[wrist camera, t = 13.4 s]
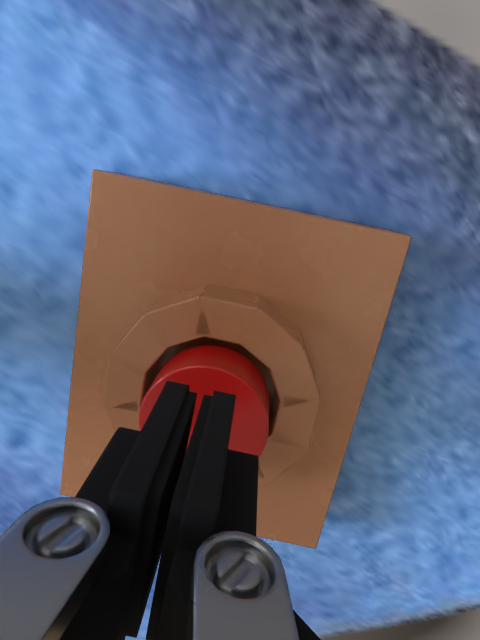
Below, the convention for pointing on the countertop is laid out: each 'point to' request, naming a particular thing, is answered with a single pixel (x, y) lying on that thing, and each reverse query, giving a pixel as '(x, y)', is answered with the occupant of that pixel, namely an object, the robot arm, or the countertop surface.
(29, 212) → the countertop surface
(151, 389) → the red button
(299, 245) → the control block
